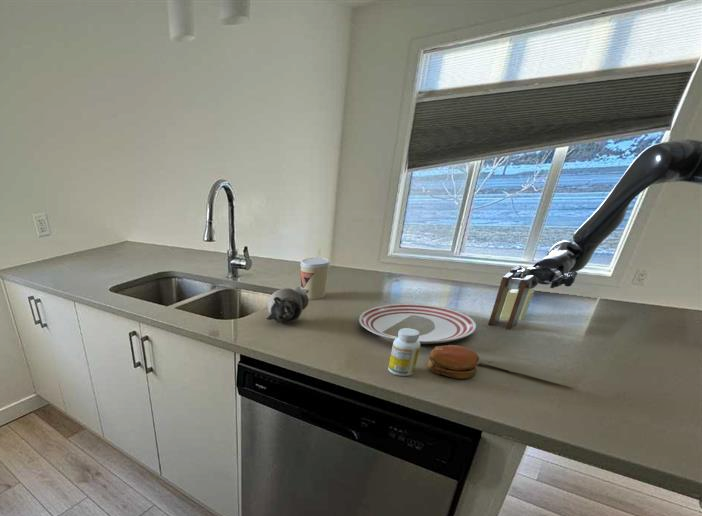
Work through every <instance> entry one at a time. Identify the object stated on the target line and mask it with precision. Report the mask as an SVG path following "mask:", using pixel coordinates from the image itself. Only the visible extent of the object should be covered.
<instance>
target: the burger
mask: <svg viewBox="0 0 702 516" xmlns="http://www.w3.org/2000/svg"><path fill="white" fill-rule="evenodd" d="M479 362H480V356H479V355H478V352H476V351H474V350H473V349H470V348H467V347H464V346H461V345H455V344H448V345H438V346H437V345H436V346H434V347H433V348H432V350H431V351H430V353H429V358H428V362H427V364H426V367H427V369H428V370H429V371H430V372H432V373H434V374H437V375H443V376H446V377H448V378H454V379H469V378H472V377H473V376H475V374H476V373H477V366H478V363H479Z"/></svg>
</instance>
